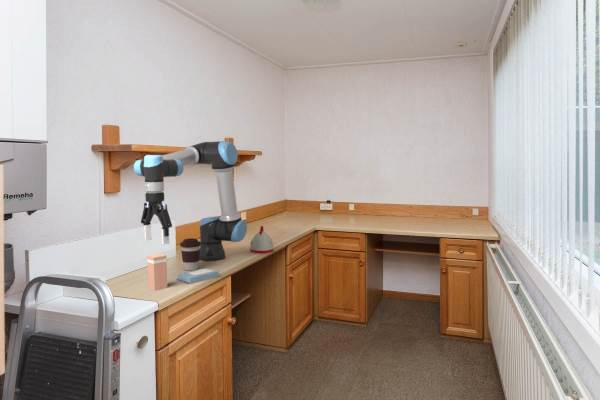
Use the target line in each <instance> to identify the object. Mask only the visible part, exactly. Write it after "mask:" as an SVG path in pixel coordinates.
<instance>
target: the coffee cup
mask: <svg viewBox="0 0 600 400" xmlns="http://www.w3.org/2000/svg"><path fill="white" fill-rule="evenodd" d="M200 245H201V242H200V240H198V239H197V238H184V239H182V242H180V243H179V246H180V247H181V250H180V251H181V259H182V265H183V270H184V271H187V272H190V271H194V270H199V269H200V268H199V264H200V260H199V256H200V249H199V248H200Z"/></svg>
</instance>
